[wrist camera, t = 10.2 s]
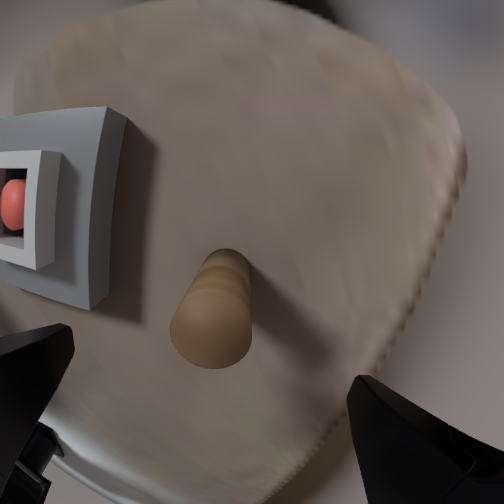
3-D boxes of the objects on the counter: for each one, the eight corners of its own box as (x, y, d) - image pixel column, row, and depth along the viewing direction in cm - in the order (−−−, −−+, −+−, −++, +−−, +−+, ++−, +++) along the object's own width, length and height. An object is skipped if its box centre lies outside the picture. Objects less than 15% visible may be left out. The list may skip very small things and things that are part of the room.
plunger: (54, 226, 16) (27, 233, 13) (25, 220, 16) (-1, 227, 13) (57, 179, 15) (29, 180, 12) (28, 177, 15) (1, 178, 12)
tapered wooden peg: (245, 297, 18) (244, 373, 10) (199, 290, 18) (168, 360, 10) (253, 252, 17) (258, 305, 10) (205, 244, 17) (172, 291, 9)
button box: (109, 293, 18) (73, 324, 13) (4, 263, 17) (-34, 279, 12) (127, 117, 15) (89, 97, 10) (12, 125, 15) (-28, 118, 10)
